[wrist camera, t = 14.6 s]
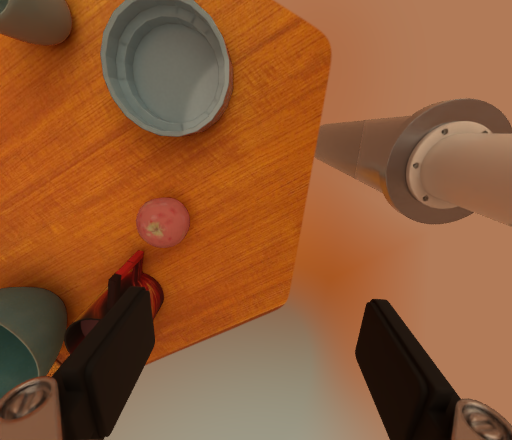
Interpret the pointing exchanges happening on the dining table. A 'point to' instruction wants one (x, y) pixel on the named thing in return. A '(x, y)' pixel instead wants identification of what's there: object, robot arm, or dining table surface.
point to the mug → (114, 299)
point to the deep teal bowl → (29, 334)
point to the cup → (36, 21)
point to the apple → (163, 222)
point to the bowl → (167, 66)
